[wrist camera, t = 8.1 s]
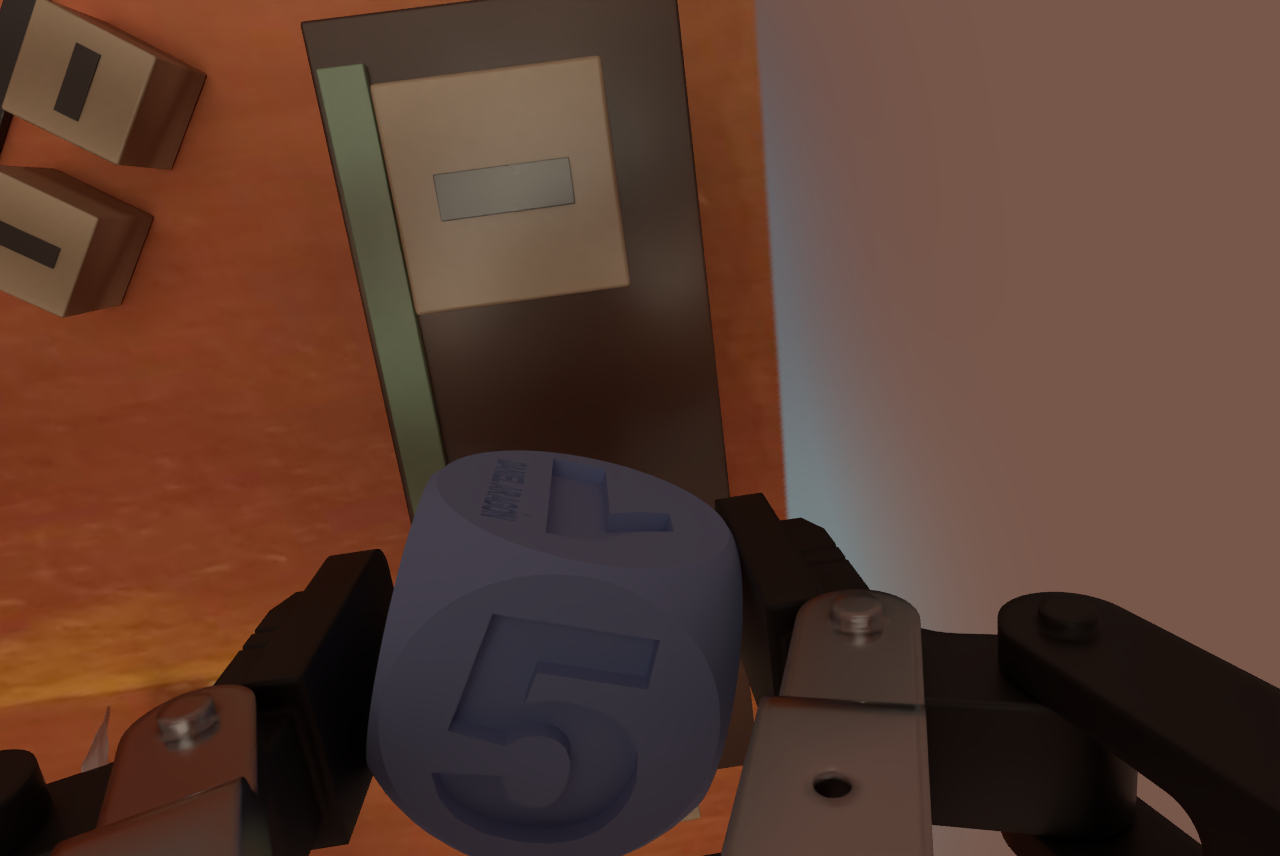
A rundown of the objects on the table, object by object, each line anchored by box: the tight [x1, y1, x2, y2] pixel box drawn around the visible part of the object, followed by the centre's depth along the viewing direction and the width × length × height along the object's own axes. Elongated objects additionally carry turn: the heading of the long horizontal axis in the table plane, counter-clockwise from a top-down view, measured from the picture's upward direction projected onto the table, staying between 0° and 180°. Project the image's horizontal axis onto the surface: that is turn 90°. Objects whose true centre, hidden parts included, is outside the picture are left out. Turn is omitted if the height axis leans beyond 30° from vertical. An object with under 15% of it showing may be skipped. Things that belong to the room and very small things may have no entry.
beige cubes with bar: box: [0, 0, 206, 317], centre depth 31 cm, size 18×7×4 cm, turn 152°
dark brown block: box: [301, 0, 754, 822], centre depth 26 cm, size 20×8×20 cm, turn 7°
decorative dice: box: [366, 450, 743, 856], centre depth 11 cm, size 4×4×4 cm
